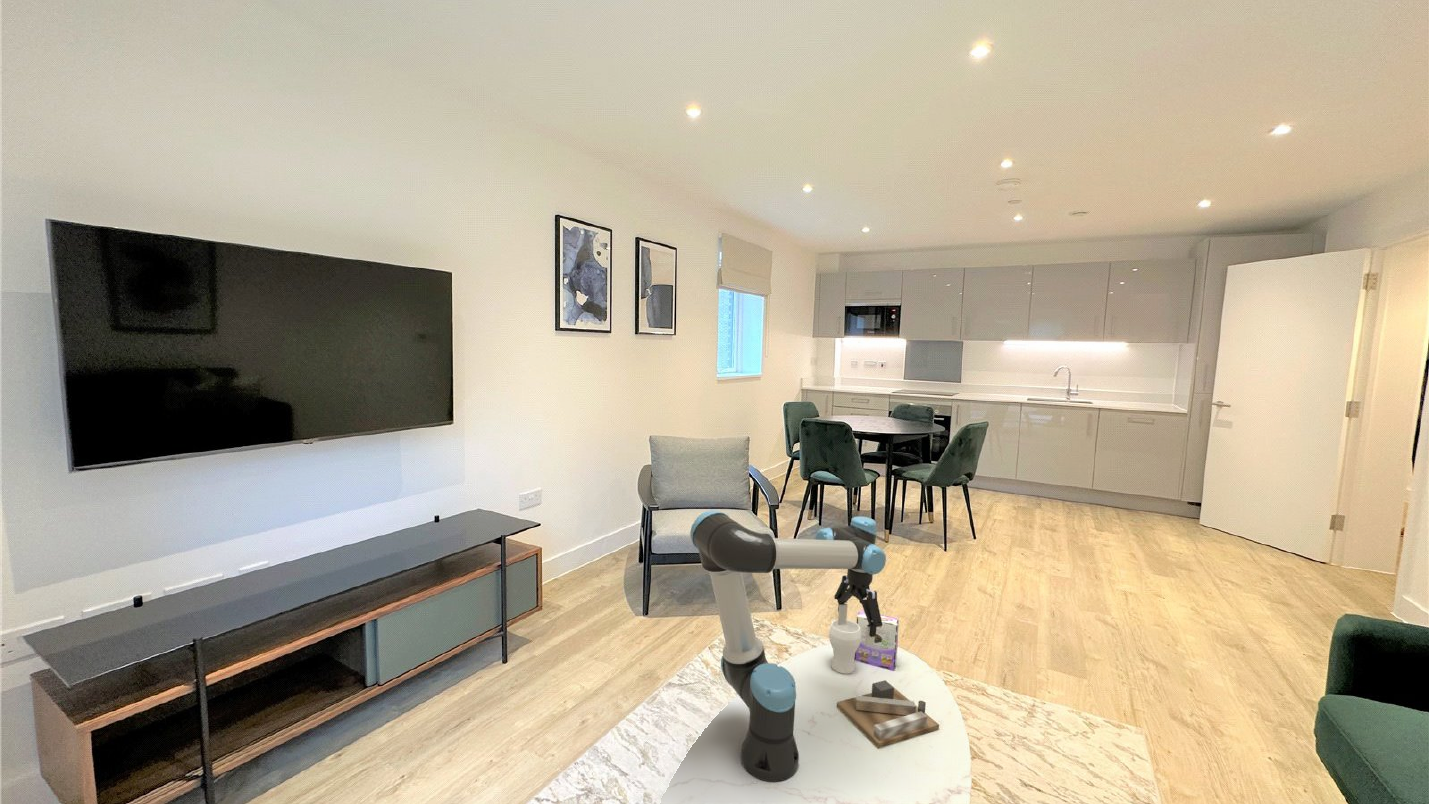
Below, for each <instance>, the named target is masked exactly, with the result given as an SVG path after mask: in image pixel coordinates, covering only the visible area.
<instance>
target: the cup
mask: <svg viewBox="0 0 1429 804" xmlns="http://www.w3.org/2000/svg"><path fill="white" fill-rule="evenodd" d="M828 632H829V633H828V638H829V641H830V645H831V647H832V650H833V651H832V653H833V656H832V660H831V667H832V669H833V670H834V671H836V672H837V673H840V674H845V675H846V674H852V673H854V672H855V669H856V668H855V660H854V658H855V652H856V651H857V649H858V647H859V645H860V642H861V631H860V627H859V625H858V624H857V622H855V621H853V620H850V619H847V618H846V624H844V625H838V618H836V619H833V620H832V622H831V624H830V627H829V631H828Z"/></svg>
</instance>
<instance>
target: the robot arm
mask: <svg viewBox="0 0 1429 804" xmlns="http://www.w3.org/2000/svg"><path fill="white" fill-rule="evenodd" d="M689 533H690V540H691V542H692V544H693V546H694V547H695V548H696V549H697V550H698V554H699V558H700V562H701V567H702V569H703V570H704V571H706V572H707V573H709V576H710V580H711V585H712V590H713V593H714V598H715V603H716V607H717V612H718V616H719V618H720V619H719V620H720V624H721V628H722V633H723V638H724V640H725V645H724V646H723V649H722V656H721V659H720V670H721V672H722V674H723V676H724V679H725V681H726V682H727V683H728V685H730V686H731V687H732V688H733V690H734V691H735V692H736V693H737V695H738V696H739V698H740V699H741V700H742V702H744V704H745V705H746V707H747V708H748V711H749V719H748V722H749V723H748V730H747V732H746V735H745V738H744V741H743V743H742V744H741V749H740V750H741V751H740V761H741V764H742V766H743V768H744V769H745V770H746V771H747V772H748V773H749V774H750V775H751V776H753V777H755V778H757V779H759V778H760V779H759V780H762V781H765V782H781V781H785V780H787V779H790V778H791V777H792V776H794V775H795V774H796V773H797V771H798V769H799V762H800V755H799V754H800V753H799V750H798V747H797V743H796V739H795V735H794V730H795V729H794V728H795V715H796V714H795V710H796V700H797V690H796V689H797V687H796V686H797V685H796V682H795V679H794V677H793V675H792V673H791V672H790V671H789V670H788V669H786V668H785V667H783V666H778V664H776V663H771V662H770V663H769V662H768V660H767V658H766V652H765V649H764V644H763V641H762V640H761V639H759V638H758V637H756V633H755V632H756V631H755V627H754V624H753V623H754V622H753V618H752V614H751V609H750V605H749V600H748V595H747V590H746V586H745V582H744V577H743V573H744V574H745V573H746V574H770V573H772V572H773V571H774V570H778V569H779V570H784V569H785V570H786V569H787V570H846V571H847V572H846V574H845V575H842V577H841V581H840V584H839V585H838V588H837V591H836V592H835V594H834V596H833V598H834V600H836V601H837V604H838V607H837V613H838V616H837V619H838V625H844V624H846V619H847V618H848V616H847V615H848V604H847V603H848V601H849V600H850V599H851V598H852V597H855V598H856V600H859V603H860V605H861V606H862V608H863V611H864V612H865V615H866V617H867V620H868V623H869V624H867V628H866V640H865V646H866V647H868V646H873V645H874V639H875V636H876V628H877V627H879V626H882V620H881V616H880V615H881V611H880V606H879V602H878V592H877V591H876V590H871V589H870V585H871V583H873V576H875V575H877V574H879V573H881V572H882V571H883V569H884V568H885V566H886V562H887V556H886V553H885V551H884V550H883V549H882V548H880V547H879V546H877V545H876V541H877V523H876V521H875V520H874V519H872V518H871V517H867V516H861V515H860V516H854V517H852V518H851V521H850V525H847V526H845V525H844V526H834V527H831V526H829V527H825V528H821V529H818V531H817V532H816V533H815V539H810V538H808V539H807V538H781V537H778V538H777V537H774V536H773V535H772V534H770V533H760V532H756V531H753V530H751V529H749V528H747V527H745V526H744V525H741V524H740V523H738V522H737V521H735V520H734V519H732V518H731V517H730V516H729V515H728V514H726V513H725V512H721V511H719V510H708V511H705V512H702V513H701V514H699V515H698V516H697V517H696V518H695V520H694V522H693V523H692V525H691V528H690V532H689Z"/></svg>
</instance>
